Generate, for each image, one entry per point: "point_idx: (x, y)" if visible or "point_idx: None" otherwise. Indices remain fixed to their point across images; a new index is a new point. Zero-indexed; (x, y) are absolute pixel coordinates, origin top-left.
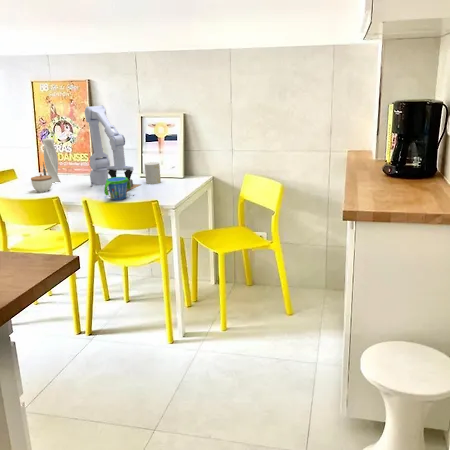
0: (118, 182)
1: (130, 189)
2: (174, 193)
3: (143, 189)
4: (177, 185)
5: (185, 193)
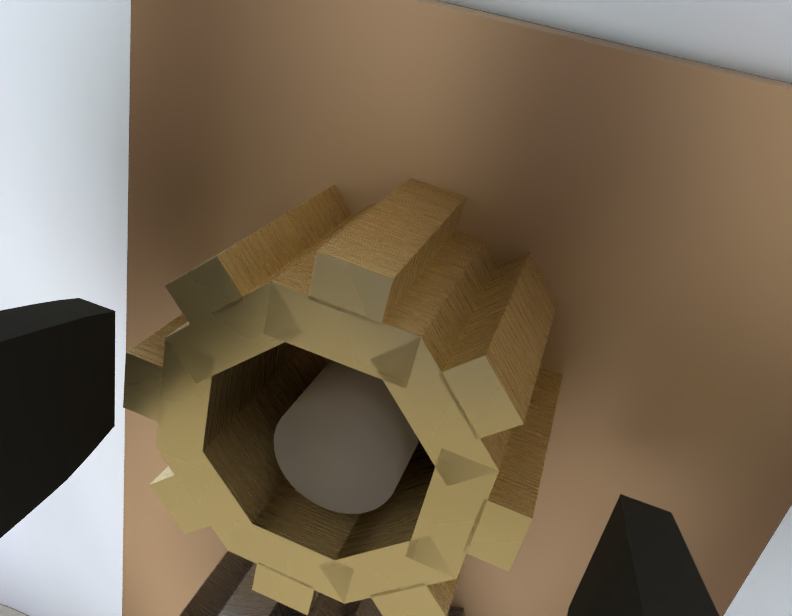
0: None
1: (155, 275)
2: None
3: None
4: None
5: None
